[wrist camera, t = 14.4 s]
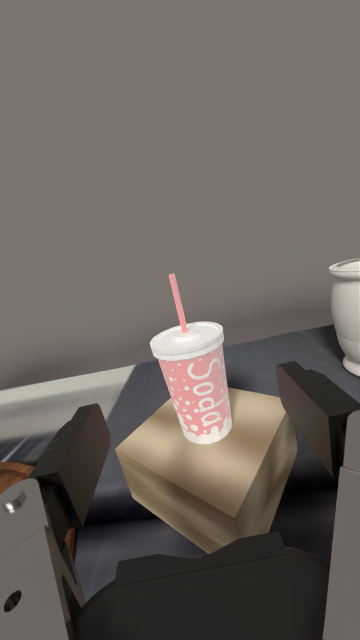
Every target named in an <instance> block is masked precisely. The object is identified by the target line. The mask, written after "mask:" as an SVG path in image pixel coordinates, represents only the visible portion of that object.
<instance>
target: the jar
mask: <svg viewBox="0 0 360 640" xmlns="http://www.w3.org/2000/svg"><path fill="white" fill-rule="evenodd" d="M329 269H330V270H329V273H330V275H331V276H332V277H334V283H333V287H332V295H331V310H332V318H333V323H334V326H335V330H336V334H337V338H338V341H339V344H340V347H341V348H342V350H343V352H344V353H345V355H346V356H345V357H344V359H343V365H344V367H345V368H346V369H347V370H348V371H349V372H350V373H352V374H354V375H356V376H359V377H360V258H356V259H352V260H347V261H343V262H340V263H337V264H334V265H332V266H330V267H329Z"/></svg>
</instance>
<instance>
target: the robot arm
mask: <svg viewBox="0 0 360 640" xmlns="http://www.w3.org/2000/svg"><path fill="white" fill-rule="evenodd" d="M276 373H277V380H278V388H279V395H280V400H281V403H282V405H283V408H284V410H285V411H286V413H287V414H288V415H289V417H290V418H291V420H292V421H293V423H294V424H295V425H296V427H297V428H298V430H299V431H300V432H301V434H302V435H303V437H304V438H305V439H306V441H307V442H308V444H309V445H310V446H311V448H312V449H313V451H314V452H315V454H316V455H317V456H318V458H319V459H320V461H321V462H322V463H323V465H324V466H325V468H326V469H327V470H328V472H329V473H330V475H331V476H332V478H336V477H339V483H338V493H337V503H336V513H335V523H334V533H333V543H332V553H331V564H330V563H329V562H327V561H325V560H323V559H321V558H319V557H317V556H315V555H313V554H310V553H308V552H305V551H302V550H299V549H295V548H290V547H285V546H284V543H283V540H282V538H281V535H280V532H279V531H275V532H270V533H265V534H260V535H254V536H249V537H244V538H239V539H237V540H235V541H233V542H231V543H229V544H228V545H226V546H224V547H222V548H220V549H218V550H216V551H214V552H213V553H211V554H209V555H207V556H205V557H203V558H201V559H189V558H182V557H175V556H167V555H160V554H155V555H150V556H144V557H139V558H134V559H129V560H123V561H119V562H118V567H117V573H116V578H115V580H114V581H112V582H110V583H109V584H108V585H106V586H105V587H103V588H102V589H101V590H99V591H98V592H97V593H96V594H95V595H94V596H92V597H91V598H90V599H89V600H88V601H87V602H86V601H85V598H84V595H83V592H82V588H81V585H80V582H79V579H78V575H77V572H76V569H75V565H74V562H73V559H72V555H71V552H70V549H69V545H68V543H67V541H66V539H65V538H66V535H67V533H68V530H69V529H72V528H77V527H82V526H83V524H84V521H85V518H86V515H87V512H88V509H89V507H90V504H91V501H92V498H93V495H94V492H95V489H96V486H97V483H98V480H99V477H100V474H101V471H102V468H103V465H104V462H105V459H106V456H107V453H108V450H109V447H110V433H109V430H108V427H107V424H106V422H105V419H104V416H103V413H102V411H101V408H100V406H99V405H98V404H97V403H96V404H91V405H86V406H82V407H79V408H78V410H77V411H76V413H75V414H74V416H73V418H72V419H71V421H68V422H67V423H66V424H65V425H64V426H63V427H62V428H61V429H60V430H59V431H58V432H57V434H56V435H55V437H54V438H53V440H52V442H51V443H50V444H49V446H48V447H47V450H46V451H45V452H44V453H43V455H42V456H41V458H40V459H39V461H38V463H37V464H36V466H35V467H34V469H33V470H32V472H31V473H30V475H29V476H28V478H27V479H25V480H22V481H20V482H17V483H15V484H14V485H12V486H10V487H9V488H8V489H6V490H5V491H4V492H3V493H1V494H0V640H360V404H359V403H358V402H357V401H356V400H355V399H353V398H352V397H351V396H350V395H348V394H347V393H346V392H345V391H343V390H342V389H340V388H339V387H338V386H337V385H336V384H335V383H332V381H331V380H330V379H328V378H327V377H326V376H325V375H323V374H321V373H319V372H316V371H314V370H305V369H304V368H302V367H301V366H300V365H299V364H298V363H297V362H295V361H292V362H287V363H282V364H278V365H276Z"/></svg>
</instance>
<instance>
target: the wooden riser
mask: <svg viewBox="0 0 360 640" xmlns="http://www.w3.org/2000/svg"><path fill="white" fill-rule="evenodd" d="M228 395H229V403H230V411H231V419H232V428H231V429H230V431H229V433H228V435H226V436H225V437H224V438H223V439H221V440H220V441H217V442H214V443H211V444H197V443H194V442H191V441H189V440H188V439H187V438H186V437H185V436H184V433H183V430H182V427H181V424H180V421H179V418H178V415H177V413H176V410H175V407H174V404H173V401H172V398H170V399H169V400H168V401H167V402H166V403H165V404H164V405H163V406H162V407H160V408H159V409H158V410H157V411H156V412H155V413H154V414H153V415H152V416H151V417H149V418H148V419H147V420H146V421H145V422H144V423H143V424H142V425H141V426H140V427H138V428H137V429H136V430H135V431H134V432H133V433H132V434H131V435H130V436H129V437H127V438H126V439H125V440H124V441H123V442H122V443H121V444H120V445H119V446H118V447H116V448H115V451H116V453H117V456H118V459H119V461H120V464H121V467H122V469H123V472H124V475H125V478H126V480H127V483H128V486H129V488H130V491H131V494H132V496H133V498H134V499H135V500H136V501H138V502H139V503H140V504H142V505H143V506H144V507H146V508H147V509H148V510H150V511H151V512H152V513H154V514H155V515H156V516H158V517H159V518H161V519H162V520H163V521H165V522H166V523H167V524H169V525H170V526H171V527H173V528H174V529H175V530H177V531H178V532H179V533H181V534H182V535H183V536H185V537H186V538H188V539H189V540H190V541H192V542H193V543H194V544H196V545H197V546H198V547H200V548H201V549H202V550H204V551H205V552H206V553H208V554H211V553H213V552H214V551H216V550H218V549H220V548H222V547H224V546H226V545H228V544H229V543H231V542H233V541H235V540H237V539H239V538H244V537H249V536H254V535H260V534H265V533H269V530H270V528H271V525H272V522H273V519H274V516H275V513H276V511H277V508H278V505H279V502H280V499H281V496H282V494H283V491H284V488H285V485H286V482H287V480H288V477H289V474H290V471H291V468H292V465H293V463H294V460H295V457H296V454H297V451H298V449H297V441H296V433H295V425H294V423H293V421H292V420H291V418H290V417H289V415H288V414H287V413H286V411H285V410H284V408H283V405H282V403H281V400H280V398H279V397H274V396H269V395H264V394H259V393H254V392H249V391H244V390H239V389H234V388H229V387H228Z"/></svg>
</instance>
